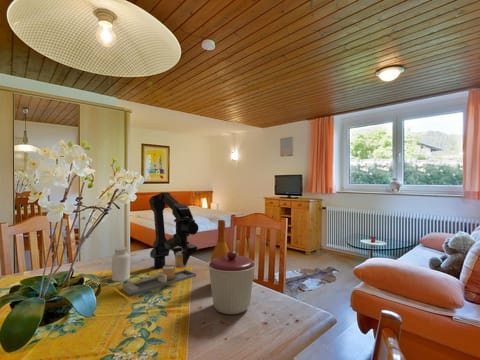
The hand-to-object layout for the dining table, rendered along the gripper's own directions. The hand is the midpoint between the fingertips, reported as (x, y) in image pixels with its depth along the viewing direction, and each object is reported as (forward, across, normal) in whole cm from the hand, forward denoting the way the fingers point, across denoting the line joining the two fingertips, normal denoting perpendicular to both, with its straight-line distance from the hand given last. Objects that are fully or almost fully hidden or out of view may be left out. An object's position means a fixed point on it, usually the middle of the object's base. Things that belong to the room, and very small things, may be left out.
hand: (181, 263), depth 129 cm
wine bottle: (+7, +22, +6) cm, 24 cm away
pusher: (+6, 0, -15) cm, 16 cm away
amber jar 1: (+6, 0, -7) cm, 9 cm away
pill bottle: (+7, -19, -22) cm, 30 cm away
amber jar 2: (+1, 0, 0) cm, 1 cm away
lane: (+7, 0, -10) cm, 13 cm away
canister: (+7, +40, -4) cm, 41 cm away
